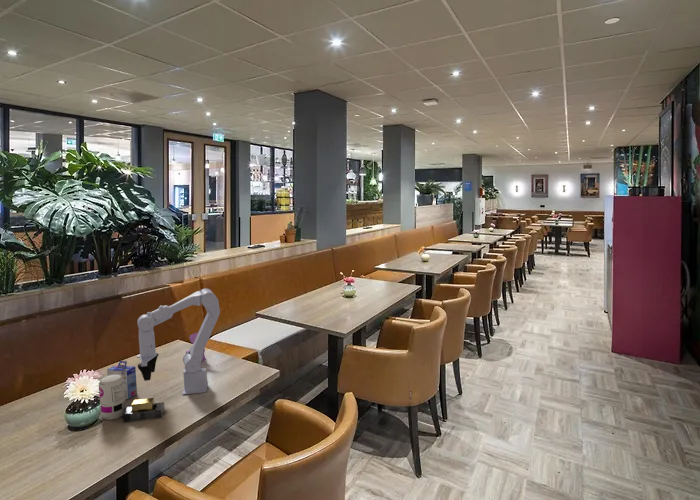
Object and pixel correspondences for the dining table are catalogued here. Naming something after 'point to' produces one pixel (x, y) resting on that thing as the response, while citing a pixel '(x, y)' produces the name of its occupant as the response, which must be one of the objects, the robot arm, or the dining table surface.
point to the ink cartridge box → (126, 377)
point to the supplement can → (112, 396)
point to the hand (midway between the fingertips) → (149, 376)
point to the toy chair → (192, 339)
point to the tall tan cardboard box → (143, 405)
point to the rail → (143, 413)
